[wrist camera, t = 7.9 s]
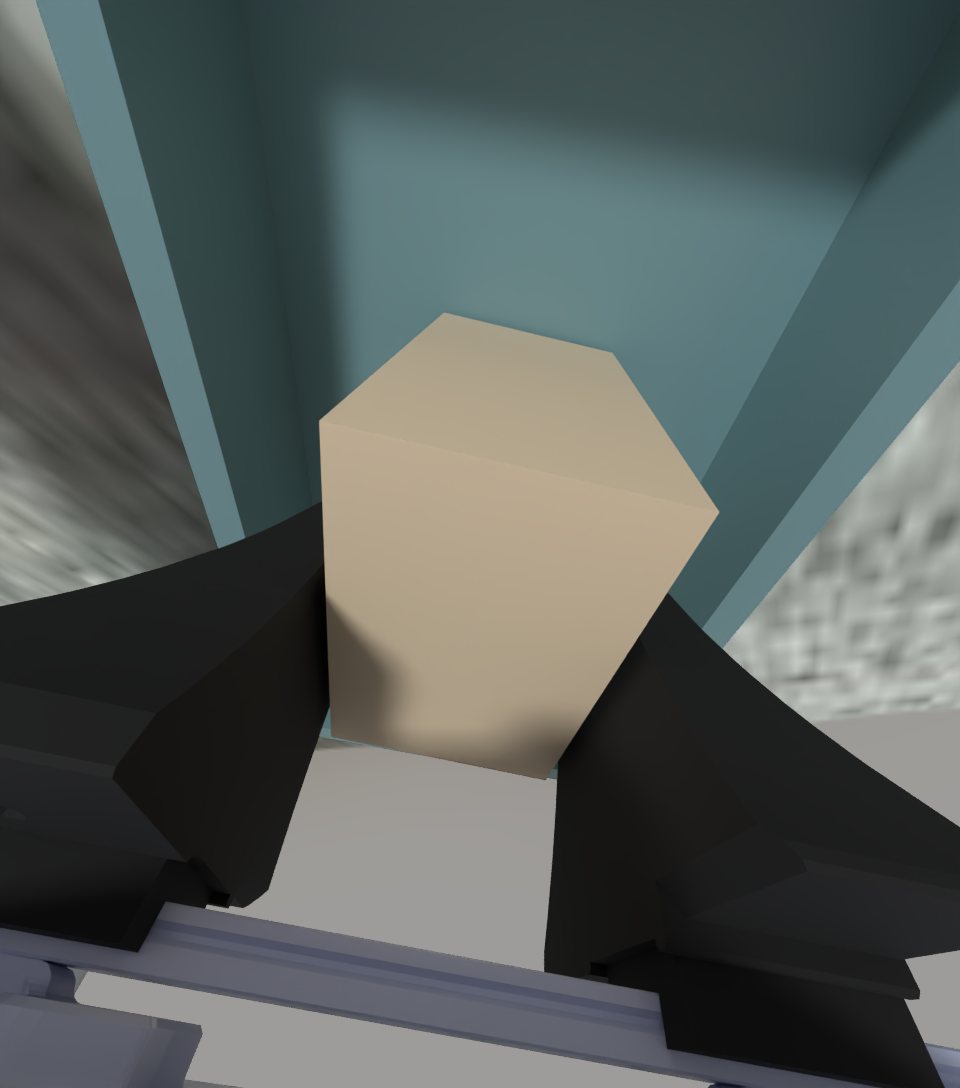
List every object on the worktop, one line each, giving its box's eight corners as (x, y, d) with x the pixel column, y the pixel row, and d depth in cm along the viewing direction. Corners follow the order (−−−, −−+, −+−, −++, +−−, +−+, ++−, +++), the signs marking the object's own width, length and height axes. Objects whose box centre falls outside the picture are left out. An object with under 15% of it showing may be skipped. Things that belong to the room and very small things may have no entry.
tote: (324, 637, 20) (278, 729, 16) (180, -322, 6) (-319, -1064, 3) (594, 686, 20) (606, 788, 16) (1072, -159, 6) (1807, -668, 3)
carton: (417, 523, 13) (331, 736, 8) (444, 312, 10) (318, 421, 4) (540, 550, 13) (545, 779, 8) (612, 352, 10) (720, 512, 4)
